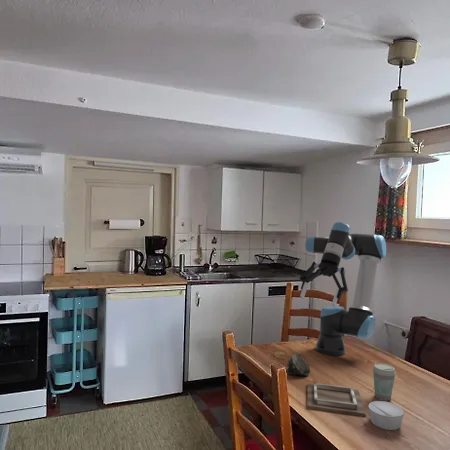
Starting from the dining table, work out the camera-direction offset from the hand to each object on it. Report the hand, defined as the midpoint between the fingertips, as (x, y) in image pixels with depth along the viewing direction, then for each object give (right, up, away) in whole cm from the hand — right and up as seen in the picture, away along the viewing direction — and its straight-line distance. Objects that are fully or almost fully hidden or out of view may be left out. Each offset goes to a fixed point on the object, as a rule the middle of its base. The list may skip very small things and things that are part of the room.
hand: (317, 301), depth 160 cm
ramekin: (+17, -37, -26) cm, 48 cm away
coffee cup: (+24, -37, -6) cm, 44 cm away
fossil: (-5, -35, +15) cm, 38 cm away
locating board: (+4, -36, -10) cm, 37 cm away
